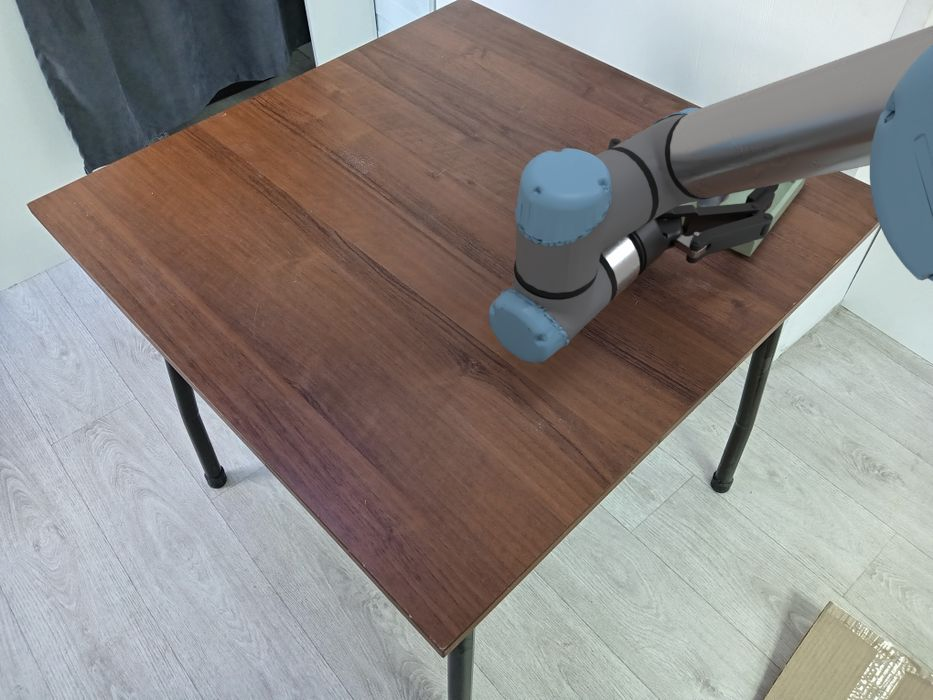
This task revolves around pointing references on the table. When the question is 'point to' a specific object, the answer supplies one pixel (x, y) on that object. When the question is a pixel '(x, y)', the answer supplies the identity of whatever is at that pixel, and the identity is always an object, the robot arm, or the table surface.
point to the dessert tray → (779, 205)
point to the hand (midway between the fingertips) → (723, 152)
